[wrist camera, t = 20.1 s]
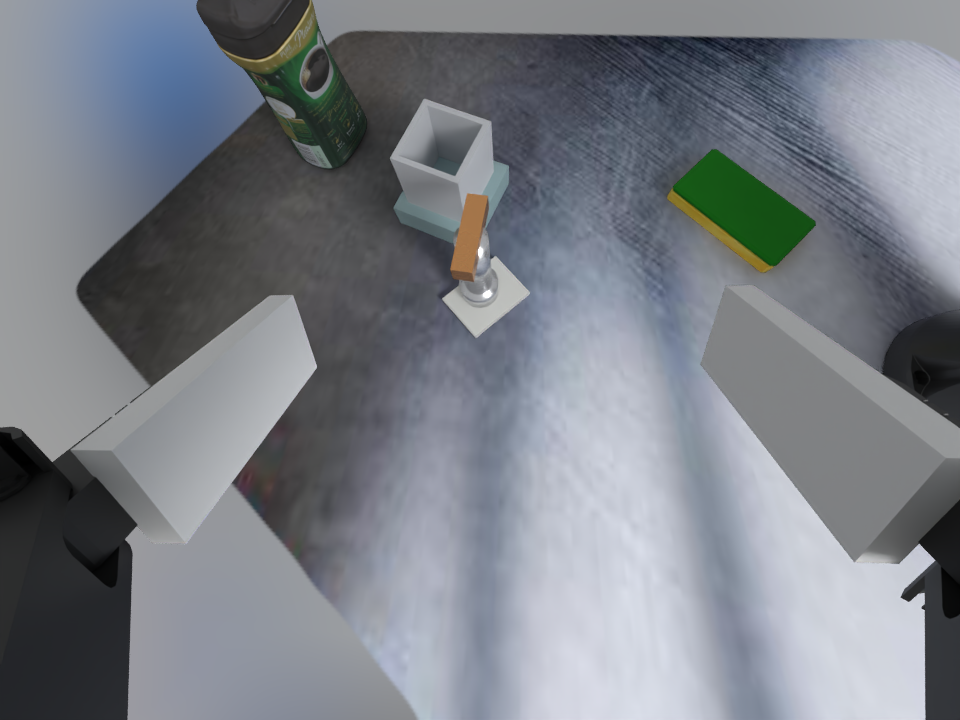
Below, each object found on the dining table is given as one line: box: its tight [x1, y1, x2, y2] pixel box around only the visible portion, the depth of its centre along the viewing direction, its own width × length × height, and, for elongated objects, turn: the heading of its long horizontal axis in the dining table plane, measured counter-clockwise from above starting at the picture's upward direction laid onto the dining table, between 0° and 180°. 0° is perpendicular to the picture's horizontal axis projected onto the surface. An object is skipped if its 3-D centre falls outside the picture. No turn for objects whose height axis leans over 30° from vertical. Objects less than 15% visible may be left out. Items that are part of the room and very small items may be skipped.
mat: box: [442, 256, 530, 338], centre depth 44 cm, size 8×6×1 cm
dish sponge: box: [667, 149, 816, 272], centre depth 43 cm, size 7×14×2 cm, turn 43°
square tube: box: [390, 99, 509, 244], centre depth 42 cm, size 10×10×10 cm
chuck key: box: [450, 193, 499, 308], centre depth 37 cm, size 7×4×12 cm, turn 169°
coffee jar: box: [196, 0, 367, 169], centre depth 41 cm, size 10×8×19 cm
